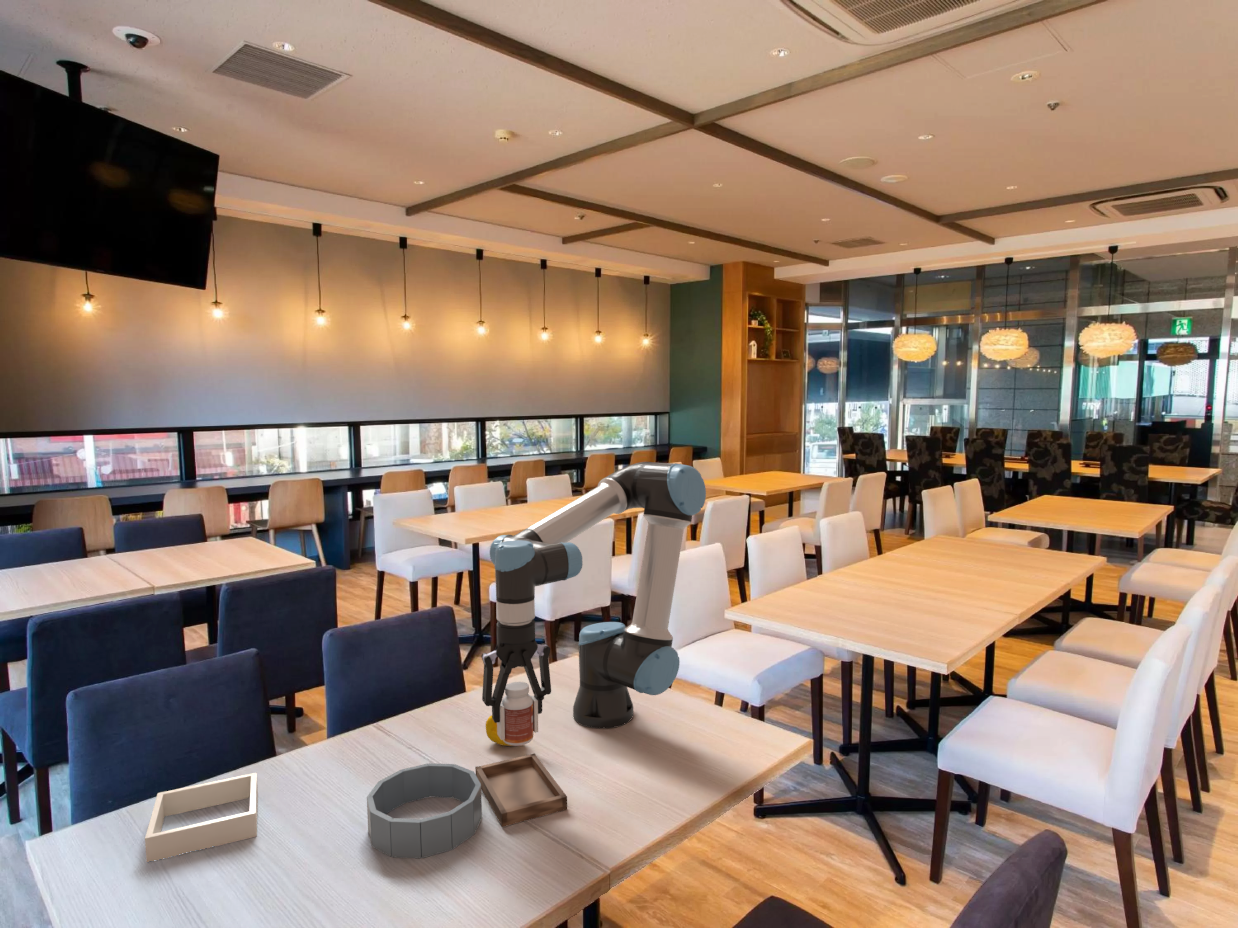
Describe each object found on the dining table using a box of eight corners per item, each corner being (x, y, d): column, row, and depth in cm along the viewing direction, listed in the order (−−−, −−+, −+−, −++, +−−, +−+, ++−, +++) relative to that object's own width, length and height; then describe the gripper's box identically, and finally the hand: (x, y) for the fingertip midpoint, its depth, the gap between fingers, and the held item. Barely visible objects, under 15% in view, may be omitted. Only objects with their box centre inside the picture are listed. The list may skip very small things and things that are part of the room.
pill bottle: (538, 741, 143) (538, 687, 142) (510, 749, 140) (509, 694, 139) (525, 729, 148) (524, 677, 147) (497, 737, 145) (496, 684, 144)
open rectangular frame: (258, 793, 146) (256, 772, 145) (256, 836, 132) (255, 812, 131) (159, 815, 139) (157, 792, 138) (146, 862, 124) (144, 838, 124)
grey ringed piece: (465, 785, 148) (464, 754, 148) (492, 837, 130) (491, 803, 130) (363, 810, 140) (362, 778, 139) (377, 870, 122) (375, 833, 121)
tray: (534, 764, 156) (534, 753, 156) (567, 809, 139) (567, 796, 139) (475, 778, 151) (475, 767, 150) (502, 826, 134) (501, 813, 133)
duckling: (537, 740, 167) (536, 699, 166) (530, 752, 162) (529, 709, 161) (491, 737, 169) (489, 696, 168) (482, 747, 164) (481, 705, 163)
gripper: (554, 608, 149) (556, 716, 151) (462, 621, 141) (465, 735, 143) (568, 618, 143) (569, 730, 145) (472, 632, 134) (475, 751, 136)
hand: (517, 732), depth 144 cm, fingers closed on pill bottle, 6 cm apart
